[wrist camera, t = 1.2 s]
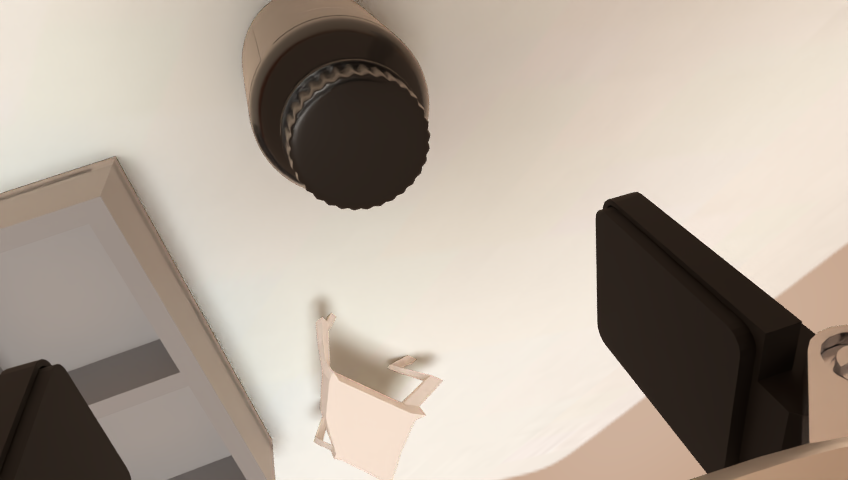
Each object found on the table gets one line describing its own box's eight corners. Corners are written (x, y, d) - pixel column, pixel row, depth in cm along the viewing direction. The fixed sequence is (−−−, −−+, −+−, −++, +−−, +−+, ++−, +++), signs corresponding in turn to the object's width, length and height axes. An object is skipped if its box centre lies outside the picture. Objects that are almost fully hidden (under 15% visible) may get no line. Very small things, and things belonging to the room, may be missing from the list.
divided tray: (115, 156, 31) (100, 196, 27) (271, 440, 42) (276, 496, 38) (-121, 232, 30) (-171, 285, 26) (105, 503, 41) (93, 567, 37)
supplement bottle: (372, 134, 34) (436, 245, 24) (236, 119, 31) (243, 236, 21) (395, -3, 31) (480, 58, 21) (247, -30, 28) (260, 24, 18)
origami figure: (454, 379, 44) (478, 432, 40) (355, 447, 45) (369, 506, 40) (352, 267, 37) (368, 316, 33) (238, 349, 38) (240, 407, 34)
